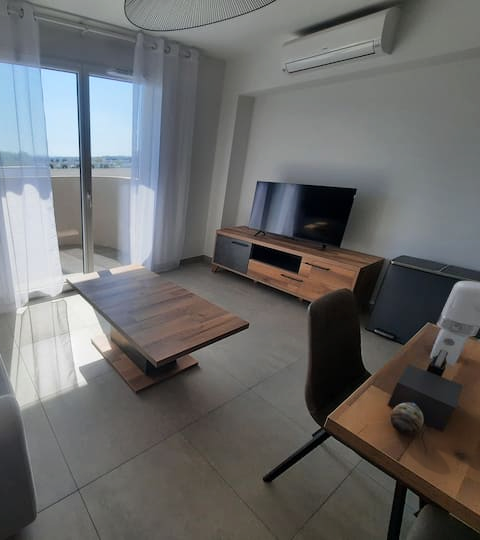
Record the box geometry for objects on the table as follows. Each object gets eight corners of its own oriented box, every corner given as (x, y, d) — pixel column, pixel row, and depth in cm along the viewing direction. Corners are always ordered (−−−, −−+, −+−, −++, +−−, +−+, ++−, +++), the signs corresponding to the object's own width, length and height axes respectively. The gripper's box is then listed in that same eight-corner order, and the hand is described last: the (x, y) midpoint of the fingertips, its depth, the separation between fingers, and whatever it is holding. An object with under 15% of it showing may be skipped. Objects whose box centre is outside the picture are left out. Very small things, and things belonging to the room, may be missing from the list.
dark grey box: (398, 385, 89) (408, 363, 86) (450, 408, 81) (462, 385, 78) (387, 405, 82) (397, 382, 79) (442, 432, 74) (455, 407, 71)
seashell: (392, 413, 80) (403, 390, 77) (421, 427, 76) (433, 404, 73) (381, 430, 75) (392, 407, 72) (411, 447, 71) (423, 423, 68)
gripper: (474, 340, 74) (445, 395, 81) (482, 321, 82) (455, 372, 89) (432, 327, 80) (409, 379, 86) (444, 311, 88) (421, 360, 94)
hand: (432, 376), depth 88 cm, fingers closed
